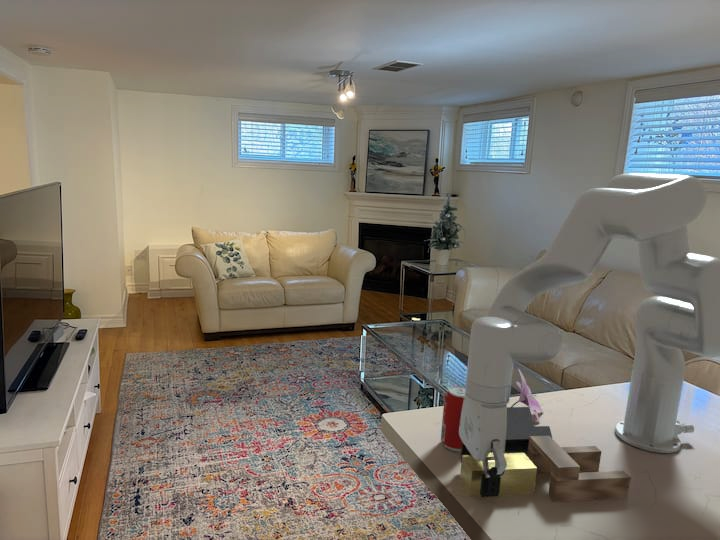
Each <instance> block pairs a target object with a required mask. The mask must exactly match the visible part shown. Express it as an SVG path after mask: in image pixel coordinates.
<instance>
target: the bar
mask: <svg viewBox="0 0 720 540" xmlns="http://www.w3.org/2000/svg"><path fill="white" fill-rule="evenodd" d="M487 457H494V455H493V454H488V456H487ZM504 457H505V459H506V462H507V467H506V469H505V472H504V474H503V476H502V477H501V481H500V490H499V495H514V494H516V495H517V494H531V493H532V494H534V493H535V490H536V480H537V474H538V473H537V467H536V466H535V465H534V464H533V463H532V461H531V460H530V459H529V458H528V457H527V456H526V454H525V453H505V454H504ZM488 465H489V469H491V468H492V467H495V461H492V462H488ZM482 474H484V469H483V463H482V461H480V462H478V461H476V460H475V459H474V458H473V456H472V455H462V461H461V462H460V474H459V481H460V482H461V484H462V486H463V487H464V489H465V491H466V492H467V494H468V496H469V497H476V496H477V497H478V496H480V497H481V495H480V488H481V478H482Z"/></svg>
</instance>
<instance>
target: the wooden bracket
mask: <svg viewBox="0 0 720 540" xmlns="http://www.w3.org/2000/svg"><path fill="white" fill-rule="evenodd" d="M601 455H602V450H601V449H599V447H597V446H596V445H587V446H586V445H582V446H560V445H559V444H558V443H557V442H556V441H555V440H554V439H553V437H552V438H551V437H550V436H530V438H529V446H528V454H527V457H528V458H529V459H530V460H531V461H532V463H533V464H534V465H535V466H536V467H537V473H536V474H546V473H547V474H548V473H550V477H549V484H548V485H549V486H548V491H547V493H548V494H547V495H548V496H549V497H550V498H549V499H551V501H553V502H554V503H556V502H558V503H559V502H573V501H574V502H575V501H592V500H593V501H594V500H610V499H611V500H612V499H613V500H615V499H627V498H628V497H629V490H630V484H631V478H632V477H631V476H630V475H629V474H628V473H626V471H624V470H613V471H612V470H611V471H600V470H599V469H600V463H601V459H602V458H601V457H602V456H601Z"/></svg>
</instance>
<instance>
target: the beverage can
mask: <svg viewBox="0 0 720 540" xmlns="http://www.w3.org/2000/svg"><path fill="white" fill-rule="evenodd" d="M465 387H466V386H463V385H453V386H450V387H449V388H448V389H447V390H448V391H447V392H446V393H445V394H444V399H443V409H442V420H441V422H442V423H441V432H440V433H441V434H440V441H441V443H442V444H443V445H444V447H445V448H446V449H448V450H450V451H453V452H457V453H458V452H460V453H461V449H462V444H464V443H462V440H461V438H460V436H459V426H460V419H461V412H462V406H463V400H464V396H465Z"/></svg>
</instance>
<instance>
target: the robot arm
mask: <svg viewBox="0 0 720 540" xmlns="http://www.w3.org/2000/svg"><path fill="white" fill-rule="evenodd" d="M707 195H708V193H707V189H706V187H705V185H704V183H703V182H702V181H701V180H700V179H698V177H695V176H693V175H685V174H666V173H664V174H663V173H645V172H644V173H643V172H642V173H641V172H638V173H637V172H628V173H621V174H618V175H615V176H613V177H612V178H611V179H610V180H609V181H608V183H606V187H595V188H590V189H588V190H585V191H584V192H583V193H581V194H580V195H579V197H578V198H577V199H576V201H575V202H574V204H573V205H572V208H571V209H570V211H569V212H568V214H567V216H566V218H565V220H564V221H563V223H562V224H561V227H560V228H559V230H558V232H557V233H556V235H555V236H554V239H553V240H552V241H551V243H550V245H549V247H548V249H547V251H546V252H545V253H544V255H542V256H541V258H539V259H537V260H535V261H534V262H532V263H530V264H529V265H527V266H526V267H524V268H523V269H522V270H521V271H518V272H517V274H515V275H514V276H512V277H511V278H510V279H509V280H508V281H507V282H506V283H505V284H504V286H503V287H502V288H501V289H500V291H499V293H498V294H497V296H496V298H495V299H494V301H493V303H492V304H491V306H490V308H489V311H487V315H486V316H481V317H477V318H476V319H475V320H473V322H472V325H471V326H470V327H471V330H470V335H469V336H470V337H469V347H468V358H467V367H466V377H465V378H466V379H465V386H464V387H465V396H464V400H463V406H462V412H461V419H460V426H459V436H460V438H461V440H462V443H464V444H462V449H461V452H460V463H461V461H462V455H472V456H473V458H474V459H475V460H476V461H478V462H480V461H482V463H483V469H484V474H482V478H481V488H480V497H481V498H496V497H498V496H499V495H500V494H499V490H500V481H501V477H502V476H503V474H504V472H505V469H506V467H507V462H506V459H505V457H504V452H505V444H506V430H507V407H508V404H509V403H510V399H511V398H510V397H511V390H512V381H513V380H512V378H513V372H514V371H513V370H514V364H515V363H526V364H528V363H529V364H540V363H546V362H549V361H551V360H552V359H555V357H557V355H558V354H559V353H560V351H561V350H562V347H563V336H562V333H561V331H560V329H559V328H558V327H557V326H556V325H555V324H553V323H552V322H550V321H548V320H545V319H543V318H540V317H538V316H535V315H532V314H531V313H527V312H525V310H526V309H527V307H528V306H529V305H530V304H531V303H532V302H533V301H534V300H535V299H536V298H537V297H539V296H540V295H542V294H545V293H546V292H548V291H551V290H554V289H558V288H563V287H566V286H571V285H572V286H573V285H575V284H579V283H583V282H586V281H588V280H589V279H591V277H592V275H593V273H594V271H595V270H596V268H597V266H598V264H599V262H600V260H601V259H602V258H603V255H604V254H605V252H606V250H607V249H608V247H609V245H610V243H611V242H612V240H613V239H621V240H626V241H627V240H628V241H634V242H638V255H639V270H640V271H639V273H640V279H641V280H640V281H641V284H642V286H643V288H644V289H645V290H646V291H647V292H649V293H651V294H653V295H656V296H650V297H648V298H645V299H644V300H642V301H641V303H640V304H639V305H638V306H637V308H636V312H635V315H634V316H635V319H634V322H635V323H634V327H635V350H634V351H635V352H634V358H633V359H634V360H633V364H632V371H631V375H630V376H631V378H630V384H629V390H628V395H627V401H626V407H625V409H626V410H625V415H624V420H622V421H619V422H617V423H616V424H615V426H614V427H615V428H614V432H615V434H616V436H617V437H618V438H620V439H621V440H622V441H623V442H625V443H627V444H629V445H630V446H633V447H635V448H638V449H640V450H643V451H647V452H651V453H657V454H672V453H676V452H678V451H679V450H680V449H681V445H682V442H681V439H680V437H679V436H678V435H682V433H684V434H689V433H690V434H691V433H694V432H695V426H694V425H693V424H692V423H680V420H679V419H677V418H678V412H679V407H680V402H681V395H682V391H683V385H684V380H685V379H684V378H685V374H686V361H685V356H684V354H683V351H685V352H689V353H691V354H694V355H698V356H701V357H706V358H718V357H720V258H719V257H717V256H716V257H715V256H710V255H706V254H705V255H704V254H699V253H694V252H692V251H691V249H690V247H689V237H688V236H689V235H688V228H687V227H688V226H687V225H689V224H690V223H692V222H694V221H695V220H696V219H697V218H698V217H699V216H700V215H701V213H702V212H703V211H704V208H705V207H706V203H707V197H708V196H707ZM488 454H493V455H494V457H487V456H488ZM492 461H495V467H492V468H491V469H489V465H488V462H492Z"/></svg>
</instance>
